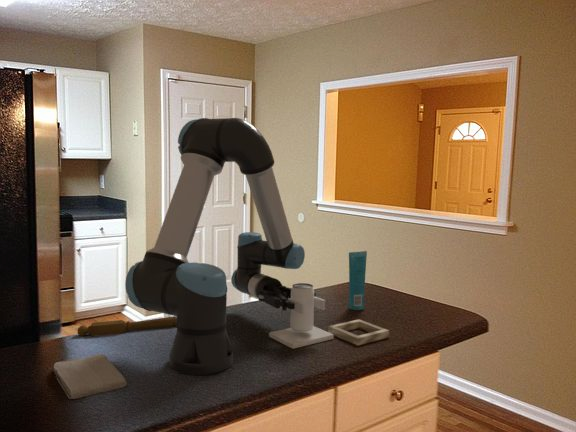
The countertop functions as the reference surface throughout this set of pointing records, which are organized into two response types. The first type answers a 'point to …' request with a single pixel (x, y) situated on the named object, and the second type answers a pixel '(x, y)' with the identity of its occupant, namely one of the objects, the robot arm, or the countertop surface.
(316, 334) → the trivet
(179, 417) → the countertop surface
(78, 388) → the washcloth
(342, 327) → the holder
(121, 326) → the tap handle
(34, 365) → the countertop surface
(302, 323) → the can
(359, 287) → the tube
